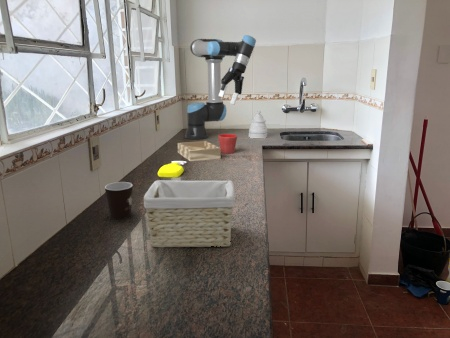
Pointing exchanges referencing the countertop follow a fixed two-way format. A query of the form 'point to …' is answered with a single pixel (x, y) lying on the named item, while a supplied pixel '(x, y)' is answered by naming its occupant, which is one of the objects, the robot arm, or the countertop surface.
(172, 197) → the storage basket
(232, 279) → the countertop surface
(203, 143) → the pine crate
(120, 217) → the coffee mug
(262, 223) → the countertop surface
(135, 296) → the countertop surface
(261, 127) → the honey pot
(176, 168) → the spray bottle
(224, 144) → the flower pot
